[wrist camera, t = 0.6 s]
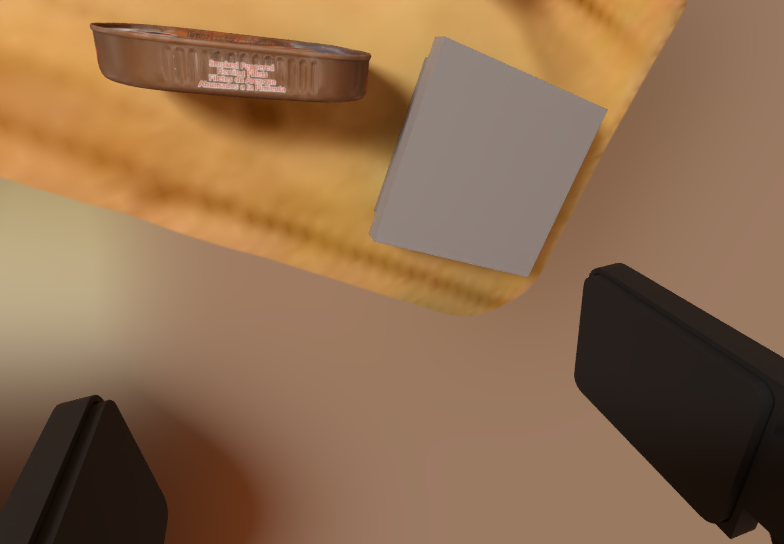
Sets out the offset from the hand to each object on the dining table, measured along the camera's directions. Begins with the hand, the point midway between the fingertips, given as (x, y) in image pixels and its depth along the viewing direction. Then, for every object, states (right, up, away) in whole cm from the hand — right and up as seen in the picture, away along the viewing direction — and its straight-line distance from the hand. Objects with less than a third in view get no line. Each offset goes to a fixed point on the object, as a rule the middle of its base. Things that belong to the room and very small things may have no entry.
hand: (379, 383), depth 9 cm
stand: (+6, +11, +29) cm, 32 cm away
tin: (-10, +16, +22) cm, 29 cm away
